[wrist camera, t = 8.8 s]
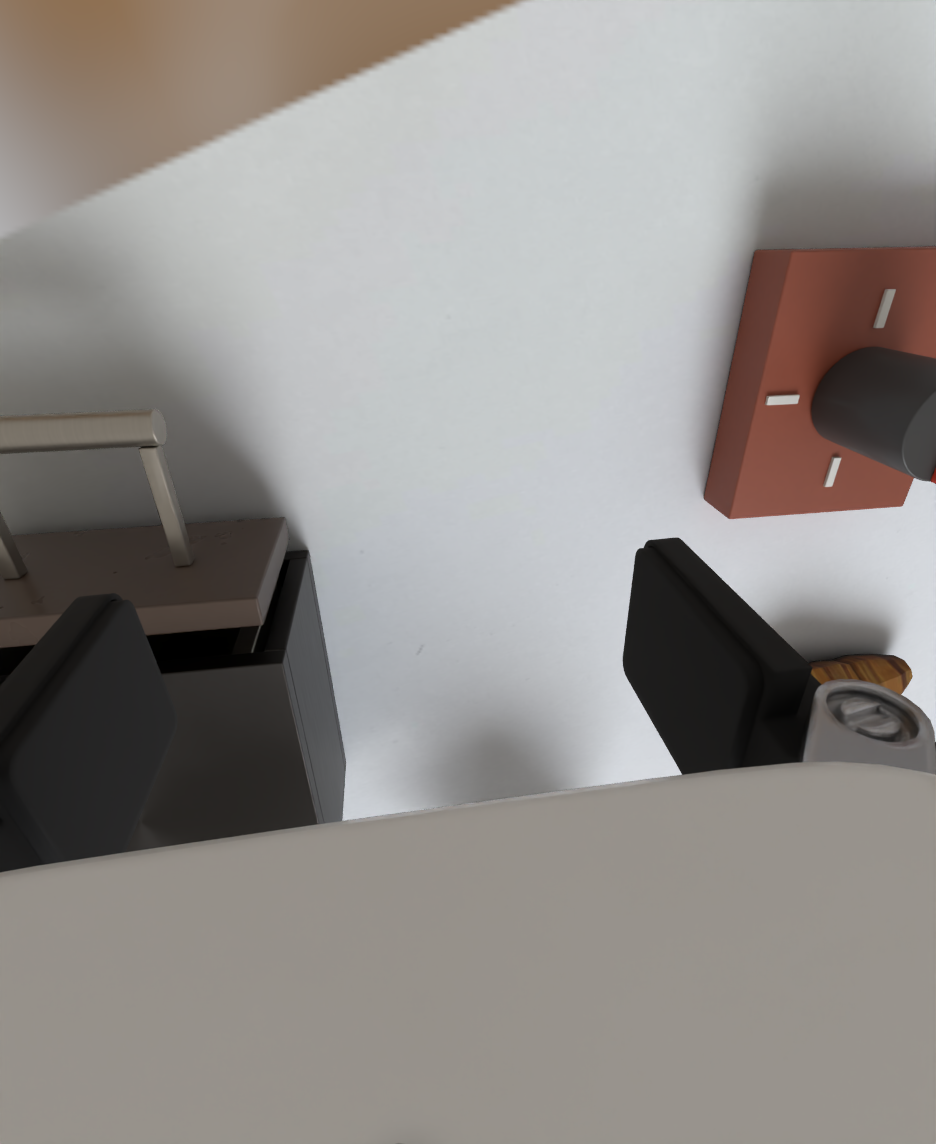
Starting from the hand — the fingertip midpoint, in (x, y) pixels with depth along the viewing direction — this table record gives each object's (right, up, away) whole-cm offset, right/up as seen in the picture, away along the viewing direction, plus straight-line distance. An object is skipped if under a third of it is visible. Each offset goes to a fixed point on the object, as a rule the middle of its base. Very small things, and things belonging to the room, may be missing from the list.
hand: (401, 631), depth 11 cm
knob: (+18, +9, +14) cm, 24 cm away
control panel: (+18, +10, +16) cm, 26 cm away
